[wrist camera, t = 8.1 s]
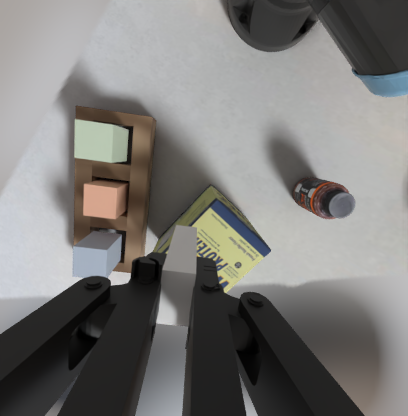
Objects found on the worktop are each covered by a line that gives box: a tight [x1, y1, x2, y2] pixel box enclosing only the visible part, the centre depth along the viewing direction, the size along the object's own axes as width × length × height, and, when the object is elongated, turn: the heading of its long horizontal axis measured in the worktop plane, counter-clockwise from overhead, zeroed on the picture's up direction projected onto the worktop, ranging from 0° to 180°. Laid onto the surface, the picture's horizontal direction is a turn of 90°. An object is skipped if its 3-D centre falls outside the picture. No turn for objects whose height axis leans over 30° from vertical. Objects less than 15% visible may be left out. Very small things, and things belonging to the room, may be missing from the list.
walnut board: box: [74, 106, 156, 273], centre depth 42 cm, size 28×12×4 cm, turn 172°
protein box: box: [153, 185, 271, 293], centre depth 39 cm, size 10×16×16 cm
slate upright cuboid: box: [73, 231, 122, 278], centre depth 39 cm, size 5×5×7 cm
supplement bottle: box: [293, 177, 355, 219], centre depth 40 cm, size 6×6×11 cm
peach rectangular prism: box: [83, 179, 130, 219], centre depth 40 cm, size 5×5×7 cm
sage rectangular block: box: [74, 119, 129, 163], centre depth 35 cm, size 5×5×7 cm
